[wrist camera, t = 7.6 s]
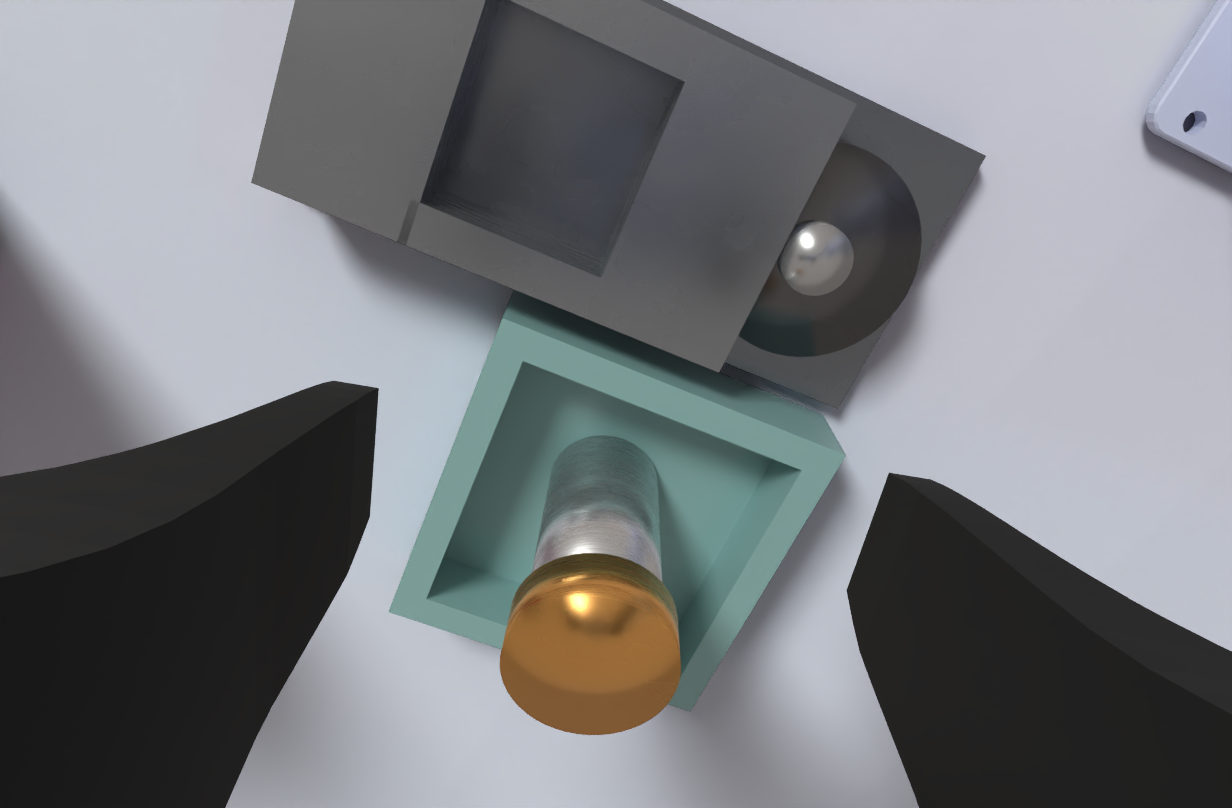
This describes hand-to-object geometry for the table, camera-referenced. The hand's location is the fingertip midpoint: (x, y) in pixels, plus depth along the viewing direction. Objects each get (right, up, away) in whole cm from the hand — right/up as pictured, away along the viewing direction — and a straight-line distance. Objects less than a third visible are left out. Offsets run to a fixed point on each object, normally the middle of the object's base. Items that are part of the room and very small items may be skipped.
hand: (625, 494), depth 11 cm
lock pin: (-1, -1, +11) cm, 11 cm away
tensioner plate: (0, +7, +8) cm, 11 cm away
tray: (0, -1, +12) cm, 12 cm away
